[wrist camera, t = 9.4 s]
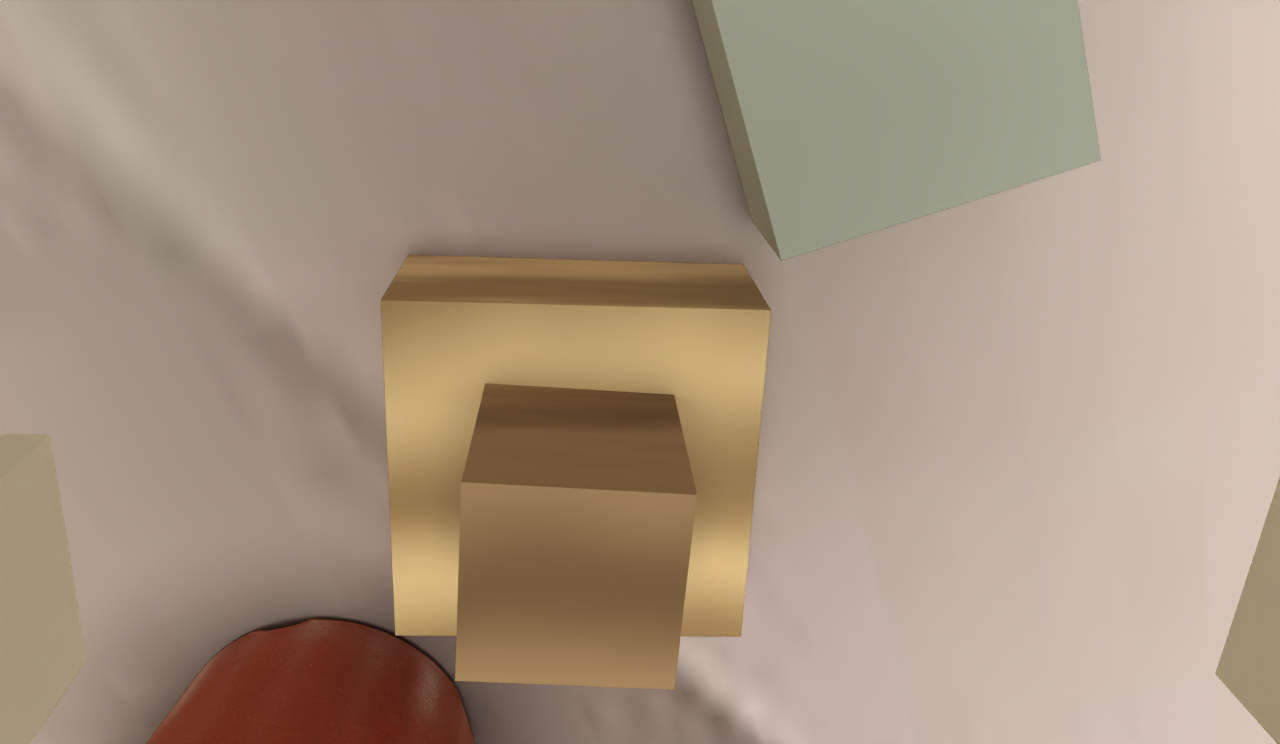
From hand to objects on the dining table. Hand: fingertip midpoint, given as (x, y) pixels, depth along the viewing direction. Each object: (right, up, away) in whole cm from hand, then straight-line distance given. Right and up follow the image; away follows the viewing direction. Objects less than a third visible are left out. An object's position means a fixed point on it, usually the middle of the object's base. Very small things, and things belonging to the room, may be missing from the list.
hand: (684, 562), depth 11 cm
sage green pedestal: (+7, +13, +24) cm, 28 cm away
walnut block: (-3, -1, +23) cm, 23 cm away
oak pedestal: (-3, +1, +28) cm, 29 cm away
